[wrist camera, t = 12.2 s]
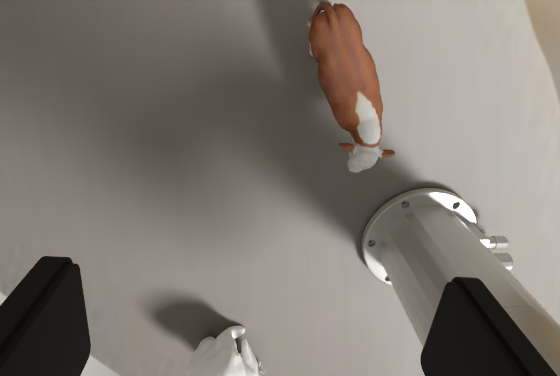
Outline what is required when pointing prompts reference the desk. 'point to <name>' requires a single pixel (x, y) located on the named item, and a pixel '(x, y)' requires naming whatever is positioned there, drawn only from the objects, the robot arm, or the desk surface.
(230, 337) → the white figurine
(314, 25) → the bull figurine
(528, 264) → the desk surface
